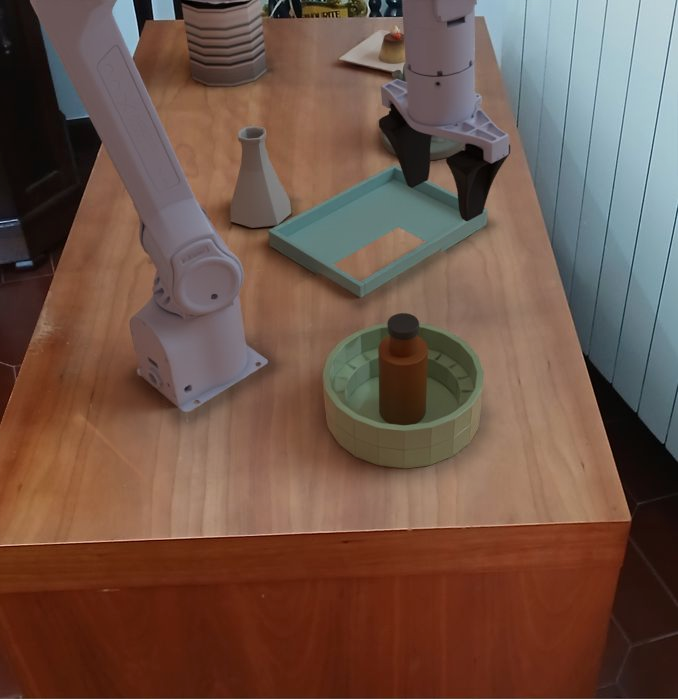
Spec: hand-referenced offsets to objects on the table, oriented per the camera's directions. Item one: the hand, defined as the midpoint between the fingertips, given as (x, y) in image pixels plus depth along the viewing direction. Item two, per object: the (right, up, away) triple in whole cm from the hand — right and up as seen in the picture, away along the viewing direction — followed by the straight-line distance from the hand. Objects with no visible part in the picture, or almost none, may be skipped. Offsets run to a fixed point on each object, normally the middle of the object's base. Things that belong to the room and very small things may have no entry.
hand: (444, 198), depth 85 cm
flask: (-19, +1, +19) cm, 27 cm away
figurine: (+1, +12, +31) cm, 33 cm away
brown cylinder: (-4, -19, -6) cm, 21 cm away
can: (-26, +26, +49) cm, 61 cm away
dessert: (-2, +28, +50) cm, 57 cm away
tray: (-5, -2, +15) cm, 16 cm away
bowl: (-4, -20, -6) cm, 21 cm away
